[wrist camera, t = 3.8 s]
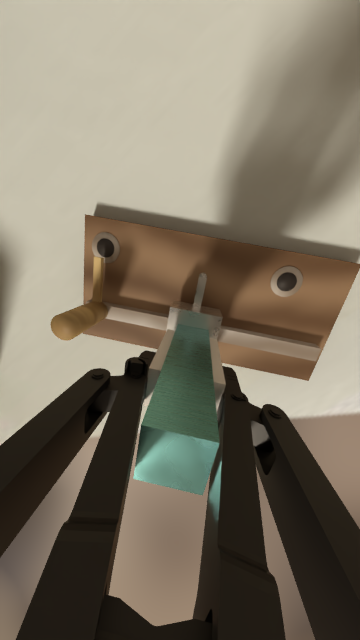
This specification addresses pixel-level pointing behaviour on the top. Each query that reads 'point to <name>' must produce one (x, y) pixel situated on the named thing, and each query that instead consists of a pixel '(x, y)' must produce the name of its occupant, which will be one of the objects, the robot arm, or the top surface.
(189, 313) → the sliding lever
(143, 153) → the top surface
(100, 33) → the top surface
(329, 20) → the top surface
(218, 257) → the hole plate
